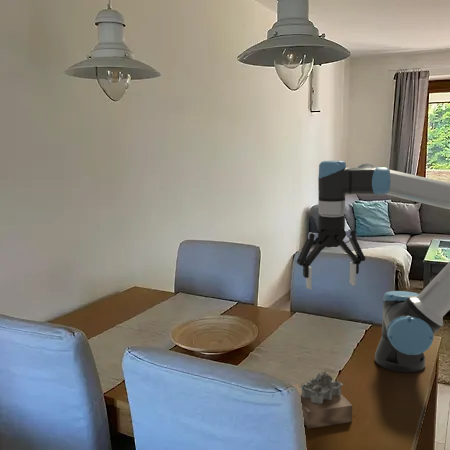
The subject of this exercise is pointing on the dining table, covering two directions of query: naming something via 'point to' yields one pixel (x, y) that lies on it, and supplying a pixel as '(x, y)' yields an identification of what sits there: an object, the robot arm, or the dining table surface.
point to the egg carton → (321, 388)
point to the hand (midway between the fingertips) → (330, 286)
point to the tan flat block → (325, 410)
